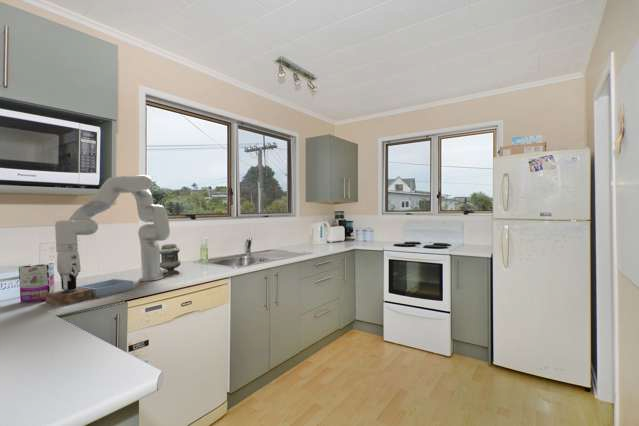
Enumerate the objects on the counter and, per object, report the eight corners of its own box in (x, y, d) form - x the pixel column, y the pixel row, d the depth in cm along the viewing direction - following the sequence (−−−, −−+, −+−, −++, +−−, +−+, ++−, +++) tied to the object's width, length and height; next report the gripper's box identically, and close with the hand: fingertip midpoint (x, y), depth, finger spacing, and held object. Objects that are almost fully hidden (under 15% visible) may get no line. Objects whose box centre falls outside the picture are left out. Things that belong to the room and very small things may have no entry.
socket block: (76, 295, 151) (76, 287, 151) (91, 298, 146) (91, 289, 146) (45, 303, 140) (45, 293, 140) (60, 305, 135) (60, 296, 135)
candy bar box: (55, 297, 149) (54, 262, 149) (49, 300, 144) (48, 264, 144) (26, 300, 146) (25, 264, 146) (19, 303, 141) (18, 266, 141)
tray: (114, 286, 169) (114, 278, 169) (133, 288, 162) (133, 280, 162) (77, 294, 153) (77, 286, 153) (96, 298, 146) (96, 289, 146)
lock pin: (72, 298, 146) (70, 272, 146) (77, 299, 144) (75, 273, 144) (62, 301, 142) (60, 274, 142) (66, 302, 141) (65, 274, 140)
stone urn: (160, 272, 204) (158, 244, 204) (180, 270, 209) (179, 242, 209) (159, 275, 193) (158, 246, 193) (181, 273, 198) (180, 244, 198)
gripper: (87, 247, 143) (89, 288, 143) (66, 246, 150) (68, 285, 150) (67, 249, 136) (69, 292, 136) (47, 248, 143) (49, 289, 144)
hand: (69, 288), depth 143 cm, fingers closed on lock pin, 4 cm apart
